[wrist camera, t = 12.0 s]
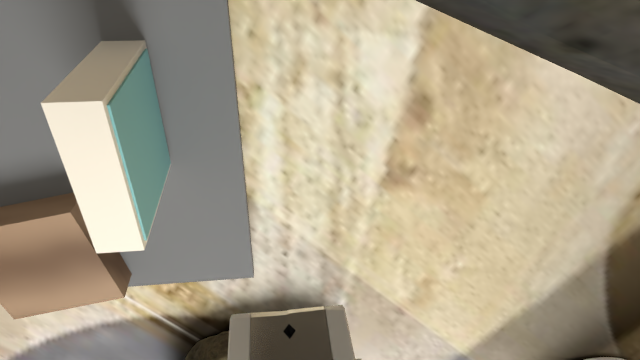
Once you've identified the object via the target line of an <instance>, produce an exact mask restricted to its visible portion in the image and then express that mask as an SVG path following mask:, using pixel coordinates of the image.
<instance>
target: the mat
mask: <svg viewBox="0 0 640 360" xmlns="http://www.w3.org/2000/svg"><path fill="white" fill-rule="evenodd" d="M137 40H145V42H146V47H147V50H148V55H149V59H150V64H151V69H152V74H153V79H154V84H155V89H156V93H157V98H158V103H159V108H160V113H161V118H162V123H163V127H164V132H165V137H166V142H167V147H168V152H169V156H170V161H171V166H170V169H169V172H168V175H167V179H166V182H165V185H164V188H163V192H162V195H161V198H160V201H159V205H158V208H157V211H156V214H155V218H154V221H153V224H152V227H151V231H150V234H149V237H148V240H147V244H146V247H145V250H142V251H126V252H119V253H120V255H121V256H122V258H123V260H124V262H125V263H126V265H127V267H128V268H129V270H130V272H131V273H132V275H131V278H130V281H129V284H128V287H129V286H143V285H156V284H170V283H184V282H197V281H211V280H224V279H238V278H251V277H254V268H253V258H252V248H251V237H250V227H249V216H248V206H247V196H246V185H245V175H244V165H243V154H242V144H241V133H240V123H239V113H238V102H237V92H236V81H235V71H234V61H233V50H232V40H231V29H230V19H229V9H228V0H0V207H3V206H8V205H13V204H18V203H23V202H28V201H33V200H38V199H43V198H48V197H53V196H58V195H63V194H69V193H74V192H73V189H72V186H71V184H70V181H69V178H68V176H67V173H66V170H65V167H64V165H63V162H62V159H61V157H60V154H59V151H58V149H57V146H56V143H55V140H54V138H53V135H52V132H51V130H50V127H49V124H48V122H47V119H46V116H45V113H44V111H43V108H42V105H41V102H42V101H43V100H44V99H45V98H46V97H47V96H48V95H49V94H50V93H51V92H52V91H53V90H54V89H55V88H56V87H57V86H58V85H59V84H60V83H61V82H62V81H63V80H64V79H65V78H66V77H67V76H68V75H69V73H70V72H71V71H72V70H73V69H74V68H75V67H76V66H77V65H78V64H79V63H80V62H81V61H82V60H83V59H84V58H85V57H86V56H87V55H88V54H89V53H90V52H91V51H92V50H93V49H94V48H95V47H96V46H97V45H98V44H99V43H100V42H101V41H137Z"/></svg>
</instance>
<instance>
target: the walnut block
mask: <svg viewBox="0 0 640 360" xmlns="http://www.w3.org/2000/svg"><path fill="white" fill-rule="evenodd" d="M131 275H132V273H131V272H130V270H129V268H128V267H127V265H126V263H125V262H124V260H123V258H122V256H121V255H120V253H119V252H111V253H96V251H95V248H94V246H93V243H92V240H91V238H90V235H89V232H88V230H87V227H86V224H85V221H84V219H83V216H82V213H81V211H80V208H79V205H78V203H77V200H76V197H75V194H74V193H69V194H63V195H58V196H53V197H48V198H43V199H38V200H33V201H28V202H23V203H18V204H13V205H8V206H3V207H0V304H1V305H2V306H3V307H4V308H5V309H6V311H7V312H8V313H9V314H10V315H11V316H12V317H13V318H14V319H19V318H24V317H29V316H34V315H39V314H44V313H49V312H54V311H59V310H64V309H69V308H74V307H79V306H84V305H89V304H94V303H99V302H104V301H109V300H114V299H119V298H124V297H125V294H126V291H127V288H128V284H129V281H130V278H131Z"/></svg>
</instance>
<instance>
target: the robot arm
mask: <svg viewBox="0 0 640 360" xmlns="http://www.w3.org/2000/svg"><path fill="white" fill-rule="evenodd" d="M227 360H361V359H355V356H354V351H353V347H352V342H351V337H350V332H349V327H348V323H347V318H346V313H345V308H344V307H343V305H338V306H327V307H324V306H322V307H312V308H302V309H292V310H288V311H273V312H256V313H242V314H231V318H230V327H229V343H228V359H227ZM585 360H625V359H621V358H614V357H599V358H590V359H585Z"/></svg>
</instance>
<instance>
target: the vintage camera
mask: <svg viewBox="0 0 640 360" xmlns="http://www.w3.org/2000/svg"><path fill="white" fill-rule="evenodd" d="M416 1H418V2H420V3H423V4H425V5H427V6H429V7H431V8H434V9H436V10H438V11H440V12H442V13H445V14H447V15H449V16H451V17H453V18H456V19H458V20H460V21H462V22H464V23H466V24H469V25H471V26H473V27H475V28H477V29H480V30H482V31H484V32H486V33H488V34H491V35H493V36H495V37H497V38H499V39H502V40H504V41H506V42H508V43H510V44H513V45H515V46H517V47H519V48H521V49H524V50H526V51H528V52H530V53H532V54H535V55H537V56H539V57H541V58H543V59H545V60H548V61H550V62H552V63H554V64H556V65H559V66H561V67H563V68H565V69H567V70H570V71H572V72H574V73H576V74H578V75H581V76H583V77H585V78H587V79H589V80H591V81H593V82H595V83H597V84H599V85H602V86H604V87H606V88H608V89H610V90H612V91H614V92H616V93H618V94H620V95H623V96H625V97H627V98H629V99H631V100H633V101H635V102H637V103H639V104H640V0H416Z"/></svg>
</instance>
